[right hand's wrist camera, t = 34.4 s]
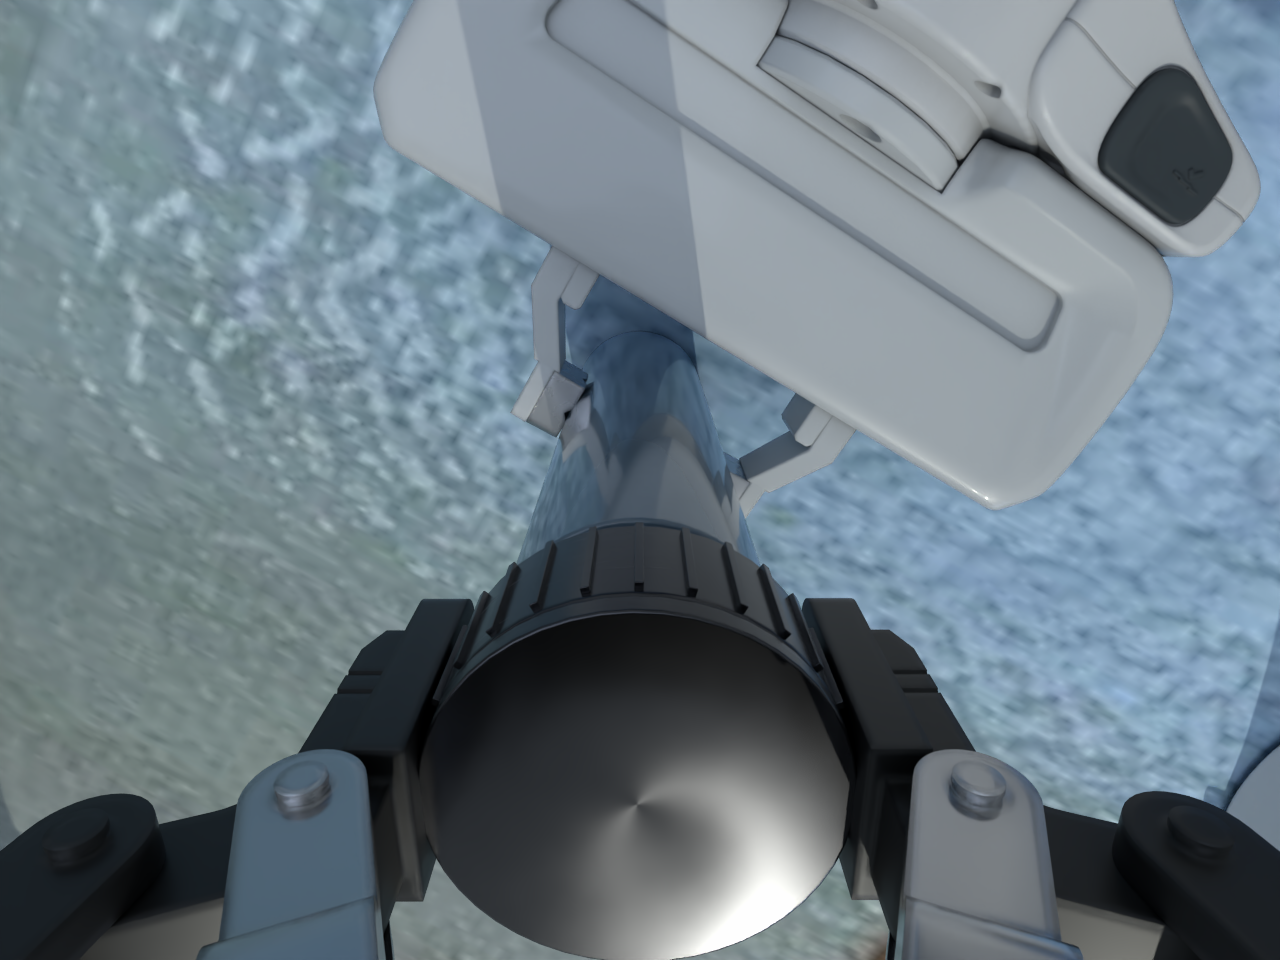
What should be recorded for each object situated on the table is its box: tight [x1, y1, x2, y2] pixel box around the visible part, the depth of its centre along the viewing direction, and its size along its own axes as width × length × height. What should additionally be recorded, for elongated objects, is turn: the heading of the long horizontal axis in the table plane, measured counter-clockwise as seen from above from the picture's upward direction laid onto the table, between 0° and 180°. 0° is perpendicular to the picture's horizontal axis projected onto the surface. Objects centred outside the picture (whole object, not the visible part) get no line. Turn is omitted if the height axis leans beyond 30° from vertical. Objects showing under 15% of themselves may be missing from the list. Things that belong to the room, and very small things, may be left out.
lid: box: [418, 522, 857, 960], centre depth 10 cm, size 5×5×2 cm
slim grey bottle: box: [516, 331, 760, 567], centre depth 19 cm, size 4×4×19 cm
